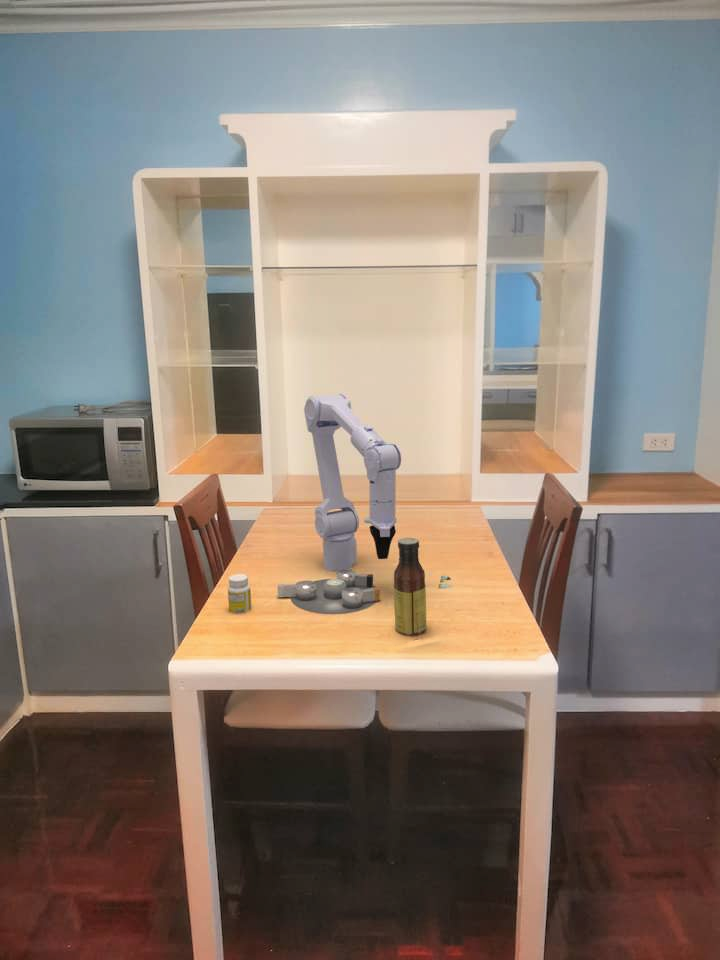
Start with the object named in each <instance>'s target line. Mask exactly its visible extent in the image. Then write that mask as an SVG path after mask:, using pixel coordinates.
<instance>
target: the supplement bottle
mask: <svg viewBox="0 0 720 960" xmlns="http://www.w3.org/2000/svg"><path fill="white" fill-rule="evenodd" d="M251 592H252V591H251V585H250V583H249V577H248V575H247V574H245V573H237V574H232V575H230V576H229V577H228V587H227V597H228V610H229V612H230V613H233V614H245V613H248V612H250V610H252V597H251V596H252V595H251Z"/></svg>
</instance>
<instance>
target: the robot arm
mask: <svg viewBox="0 0 720 960" xmlns="http://www.w3.org/2000/svg"><path fill="white" fill-rule="evenodd" d="M305 401H306V402H305V405H304V408H303V412H304V418H305V424H306V428H307V429H306V430H307V432H308V433H311V436H312V441H313V447H314V453H315V459H316V463H317V470H318V476H319V480H320V487H321V492H322V494H321V495H322V499H323V500H322V501H321V502H320V503H319V504H318V505H317V506H316V508H315V510H314V518H315V520H314V525H315V527H314V528H315V531H316V533H317V535H318V536H319V537H320V538H321V539H322V557H323V558H322V560H323V569H324V570H326V571H329V572H336V573H337V571H339V570H343V569H350V570H352V567H353V565H354V564H355V563H357V560H358V559H357V558H358V557H357V556H358V555H357V554H358V553H357V551H358V549H357V548H358V547H357V546H358V545H357V544H358V543H357V539H356V537H355V533H356V532H357V531H358V529H359V527H360V519H359V515H358V513H357V511H356V508H355V505H354V502H353V501H351V500H350V499H348V498H346V497H345V496H344V491H343V484H342V479H341V472H340V469H339V468H340V467H339V461H338V456H337V450H336V445H335V439H334V434H335V433H336V431H337V430H339V429H340V428H342V429H343V430H345V432H347V433H348V434H349V435H350V444H352V446H353V447H354V448H355V449H356V450H357V452H359V454H360V455H361V456H362V457H363V464H364V467H365V469H366V476H367V480H369V482H368V483H369V516H368V517H364V518H363V520H364V521H363V522H364V523H365V524H370V525H369V531H370V535H371V536H372V538H373V541H374V545H375V551H376V557H377V559H378V560H387V559H388V557H389V554H390V549H391V544H392V541H393V538H394V536H395V535H396V527H395V526H396V525H395V524H397V517H396V500H397V499H396V498H397V497H396V487H397V486H396V485H397V483H396V482H397V480H396V477H397V476H396V475H397V473H396V470H399V468H400V466H401V465H402V453H401V451H400V449H399V447H398V446H397V444H395V443H389V442H385V440H384V439H383V438H382V437H381V436H380V435H379V434H378V433H377V432H376V430H374V428H373V427H372V425H368V424H362V423H361V421H360V420H359V419H358V417H357V415H355V413H354V412H353V411H352V406H351V405H352V404H351V400H350V399H348V397H347V396H346V394H344V393H340V394H334V395H333V394H331V395H330V394H329V395H320V396H319V395H318V396H313V395H310V396H308V398H307V400H305ZM338 509H339V510H338ZM332 510H336V511H332Z"/></svg>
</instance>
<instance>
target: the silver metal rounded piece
mask: <svg viewBox="0 0 720 960" xmlns="http://www.w3.org/2000/svg"><path fill="white" fill-rule="evenodd" d="M313 581H314V580H299V581H297V582H296V583H295V584H284V583H278V584H277V598H290V597H296V598H297V599H299V600H311V599H314V598H315V597H316V583H315V582H313Z"/></svg>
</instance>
